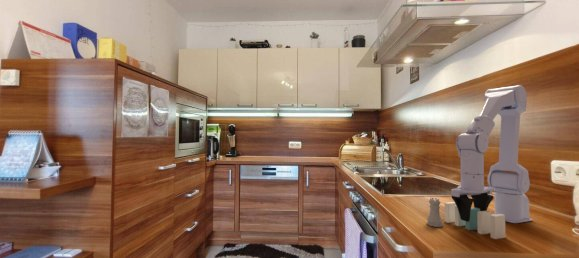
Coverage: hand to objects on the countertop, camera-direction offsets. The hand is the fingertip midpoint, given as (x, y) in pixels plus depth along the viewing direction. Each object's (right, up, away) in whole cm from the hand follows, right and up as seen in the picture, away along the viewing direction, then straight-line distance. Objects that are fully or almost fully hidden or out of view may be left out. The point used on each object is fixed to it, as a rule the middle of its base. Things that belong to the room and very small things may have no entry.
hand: (472, 219), depth 78 cm
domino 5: (+2, -3, -7) cm, 8 cm away
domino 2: (-1, -3, +3) cm, 4 cm away
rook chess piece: (-10, -3, +3) cm, 10 cm away
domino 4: (+1, -3, -3) cm, 4 cm away
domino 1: (-2, -3, +7) cm, 8 cm away
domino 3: (0, -3, 0) cm, 3 cm away
